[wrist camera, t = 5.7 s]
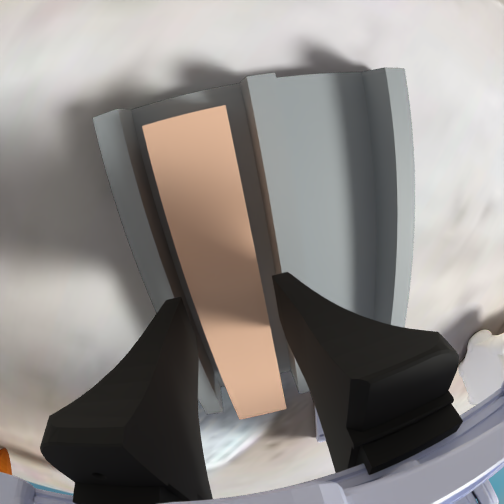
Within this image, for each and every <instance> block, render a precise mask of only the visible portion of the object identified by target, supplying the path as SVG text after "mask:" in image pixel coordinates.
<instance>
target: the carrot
mask: <svg viewBox="0 0 504 504" xmlns="http://www.w3.org/2000/svg"><path fill="white" fill-rule="evenodd" d="M0 472H3V473H6V474H10V475H12V471H11V463H10V458H9V454H8V452H7V449H5V448H4V449H1V450H0Z"/></svg>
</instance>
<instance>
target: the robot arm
mask: <svg viewBox="0 0 504 504" xmlns="http://www.w3.org/2000/svg"><path fill="white" fill-rule="evenodd" d="M272 279H273V285H274V291H275V296H276V302H277V308H278V314H279V319H280V322H281V325H282V328H283V331H284V334H285V337H286V340H287V342H288V344H289V347H290V349H291V351H292V353H293V355H294V357H295V359H296V361H297V364H298V366H299V368H300V370H301V372H302V374H303V376H304V378H305V381H306V383H307V385H308V388H309V390H310V393H311V396H312V399H313V402H314V406H315V423H316V439H317V441H318V442H323V441H326V442H327V445H328V448H329V451H330V455H331V458H332V462H333V465H334V468H335V472H336V473H335V474H331V475H328V476H325V477H322V478H318V479H315V480H311V481H308V482H304V483H300V484H296V485H292V486H288V487H284V488H280V489H275V490H270V491H265V492H260V493H254V494H249V495H242V496H236V497H228V498H220V499H213V498H212V494H211V490H210V485H209V481H208V476H207V471H206V466H205V460H204V455H203V448H202V442H201V435H200V426H199V418H198V371H199V357H198V347H197V338H196V335H195V332H194V329H193V327H192V324H191V322H190V319H189V316H188V314H187V311H186V308H185V306H184V303H183V300H182V298H181V297H177V298H173V299H168V300H166V301H165V302H164V304H163V305H162V306H161V308H160V309H159V311H158V312H157V314H156V315H155V317H154V318H153V320H152V321H151V323H150V324H149V326H148V327H147V329H146V330H145V332H144V333H143V334H142V336H141V337H140V338H139V340H138V341H137V342H136V343H135V345H134V346H133V347H132V349H131V350H130V351H129V352H128V354H127V355H126V356H125V357H124V358H123V359H122V360H121V361H120V362H119V364H118V365H117V366H116V367H115V368H114V369H113V370H112V371H111V372H110V373H108V374H107V375H106V376H105V377H104V378H103V379H102V380H101V381H100V382H99V383H97V384H96V385H95V386H94V387H93V388H91V389H90V390H89V391H88V392H86V393H85V394H84V395H82V396H81V397H79V398H78V399H77V400H75V401H74V402H72V403H71V404H69V405H67V406H66V407H64V408H62V409H61V410H59V411H57V412H56V413H54V414H52V415H50V416H49V419H48V422H47V426H46V429H45V432H44V436H43V439H42V443H41V446H40V449H41V453H42V454H43V456H44V457H45V459H46V460H47V461H48V462H49V463H50V464H51V465H53V466H54V467H55V468H56V469H58V470H59V471H60V472H62V473H63V474H64V475H66V476H67V477H68V478H70V479H71V480H73V481H74V482H75V488H74V494H73V496H71V495H65V494H59V493H54V492H49V491H44V490H40V489H36V488H34V487H33V486H32V485H31V484H29V483H28V482H27V481H25V480H23V479H21V478H19V477H17V476H13V475H10V474H6V473H3V472H0V504H498V503H499V501H498V498H497V496H496V494H495V492H494V489H493V487H492V486H491V484H490V482H489V480H488V479H489V478H490V477H492V476H493V475H494V474H495V473H497V472H498V471H499V470H500V469H501V468H503V467H504V381H503V383H502V385H501V388H500V389H498V390H497V391H496V392H494V393H493V394H492V395H490V396H489V397H487V398H486V399H485V400H483V401H482V402H480V403H479V404H477V405H476V406H474V407H473V408H471V409H470V410H468V411H467V412H465V413H463V414H462V415H460V416H459V414H458V413H457V411H456V410H455V408H454V407H453V406H452V404H451V403H453V401H454V399H453V396H452V395H451V394H450V392H449V391H448V390H449V388H450V385H451V383H452V381H453V378H454V376H455V374H456V371H457V367H458V363H459V356H458V354H457V353H456V351H455V350H454V349H453V348H452V346H451V345H450V344H449V343H448V342H447V341H446V340H445V339H444V338H443V337H442V336H441V335H440V334H439V333H438V332H433V331H424V330H415V329H408V328H403V327H399V326H394V325H390V324H386V323H382V322H379V321H376V320H373V319H370V318H366V317H364V316H361V315H358V314H356V313H354V312H352V311H349V310H347V309H345V308H343V307H341V306H339V305H337V304H335V303H333V302H331V301H329V300H328V299H326V298H324V297H323V296H321V295H320V294H318V293H317V292H315V291H314V290H312V289H311V288H309V287H308V286H306V285H305V284H304V283H302V282H301V281H300V280H298V279H297V278H296V277H294V276H293V275H292V274H290V273H289V272H284V273H280V274H276V275H272ZM475 499H477V501H478V503H477V501H476V500H475Z"/></svg>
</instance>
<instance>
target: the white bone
mask: <svg viewBox="0 0 504 504" xmlns="http://www.w3.org/2000/svg"><path fill="white" fill-rule="evenodd" d="M467 349H468V351H467V354H466V357H465V359H463V361H462V362H461V363H460V365H459V368H458V371H459V375H460V376H461V377H462V379H463V382H464V384H465V387H466V390H467V392H468V402H469V403H470V404H472V405H477V404H479V403H480V402H482V401H483V400H485V399H486V398H487V397H489V396H490V395H492V394H493V393H494V392H496V391H497V390H498V389H500V388H501V385H502V383H503V381H504V333H502V334H500V335H492V333H491V332H490V331H489V330H480V331H478V332H477V333H475V334H474V335H473V336H472V337H471V339H470V340H469V342H468V346H467Z"/></svg>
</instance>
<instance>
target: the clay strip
mask: <svg viewBox="0 0 504 504" xmlns="http://www.w3.org/2000/svg"><path fill="white" fill-rule="evenodd" d="M142 128H143V132H144V136H145V140H146V145H147V149H148V153H149V157H150V160H151V164H152V168H153V172H154V176H155V179H156V183H157V187H158V190H159V194H160V198H161V201H162V205H163V208H164V212H165V215H166V218H167V222H168V225H169V229H170V232H171V235H172V238H173V242H174V245H175V248H176V251H177V254H178V258H179V261H180V264H181V267H182V270H183V273H184V276H185V279H186V282H187V285H188V288H189V291H190V294H191V297H192V299H193V302H194V305H195V308H196V311H197V314H198V316H199V319H200V322H201V325H202V327H203V330H204V333H205V336H206V338H207V341H208V344H209V346H210V349H211V351H212V354H213V357H214V359H215V362H216V364H217V367H218V369H219V372H220V374H221V377H222V379H223V382H224V384H225V387H226V389H227V392H228V394H229V396H230V399H231V401H232V404H233V406H234V408H235V411H236V413H237V415H238V418H239V420H240V419H245V418H250V417H255V416H259V415H264V414H268V413H272V412H276V411H280V410H284V409H286V404H285V399H284V393H283V388H282V383H281V378H280V373H279V368H278V363H277V358H276V353H275V348H274V343H273V338H272V333H271V328H270V323H269V318H268V313H267V308H266V303H265V298H264V293H263V288H262V283H261V278H260V273H259V268H258V263H257V258H256V253H255V248H254V243H253V238H252V233H251V228H250V223H249V218H248V213H247V208H246V203H245V198H244V193H243V188H242V183H241V178H240V174H239V169H238V164H237V159H236V154H235V149H234V144H233V139H232V134H231V129H230V125H229V120H228V115H227V110H226V105H223V106H218V107H214V108H209V109H205V110H200V111H196V112H192V113H188V114H184V115H180V116H176V117H172V118H168V119H165V120H161V121H157V122H154V123H151V124H147V125H144V126H142Z"/></svg>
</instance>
